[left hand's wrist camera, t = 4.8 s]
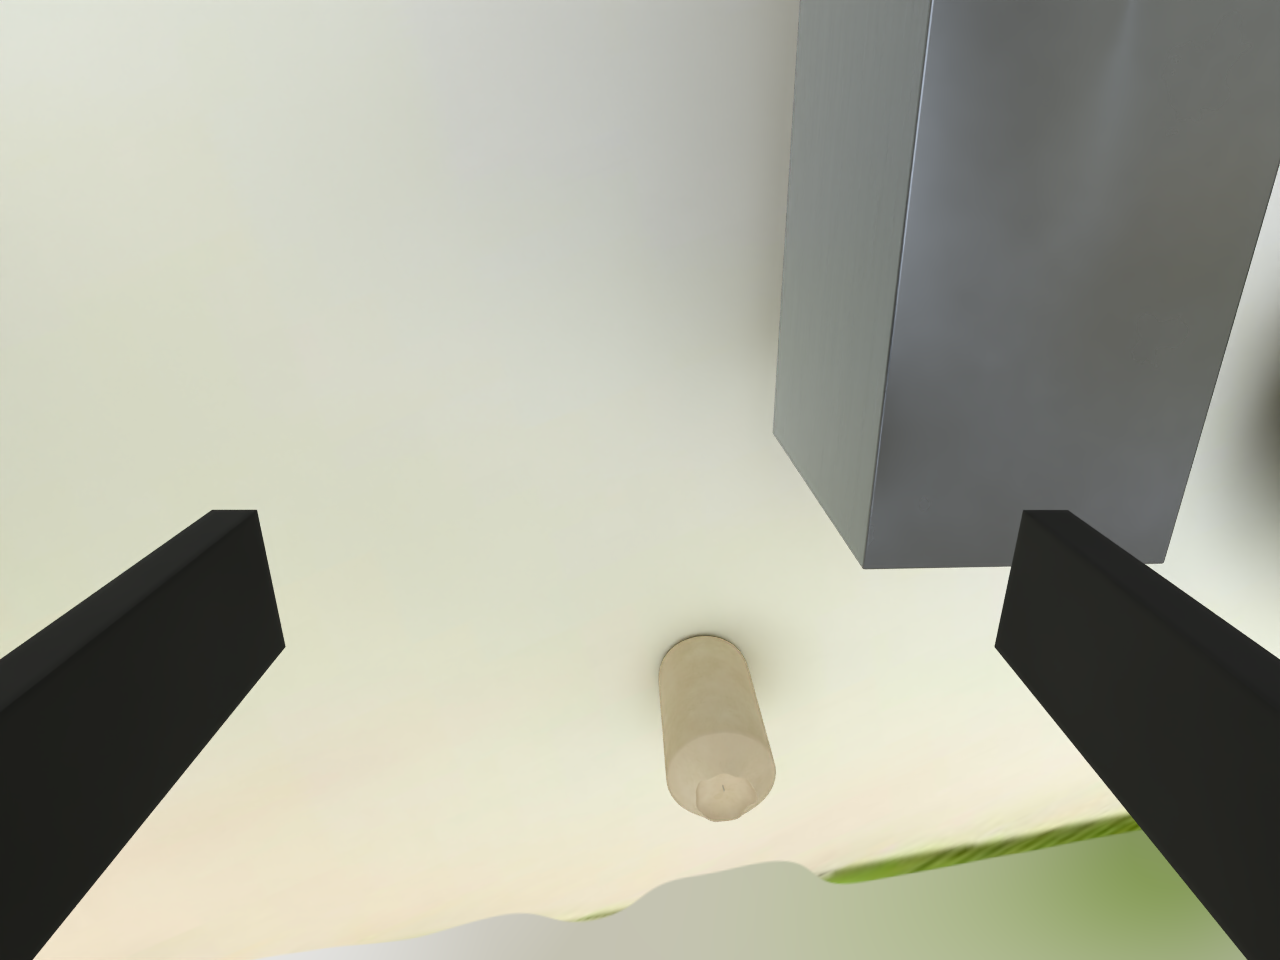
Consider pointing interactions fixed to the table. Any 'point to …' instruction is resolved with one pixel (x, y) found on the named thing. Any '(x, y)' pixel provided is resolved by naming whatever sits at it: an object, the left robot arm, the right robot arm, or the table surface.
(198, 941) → the table surface
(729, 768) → the candle
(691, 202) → the table surface
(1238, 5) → the box
